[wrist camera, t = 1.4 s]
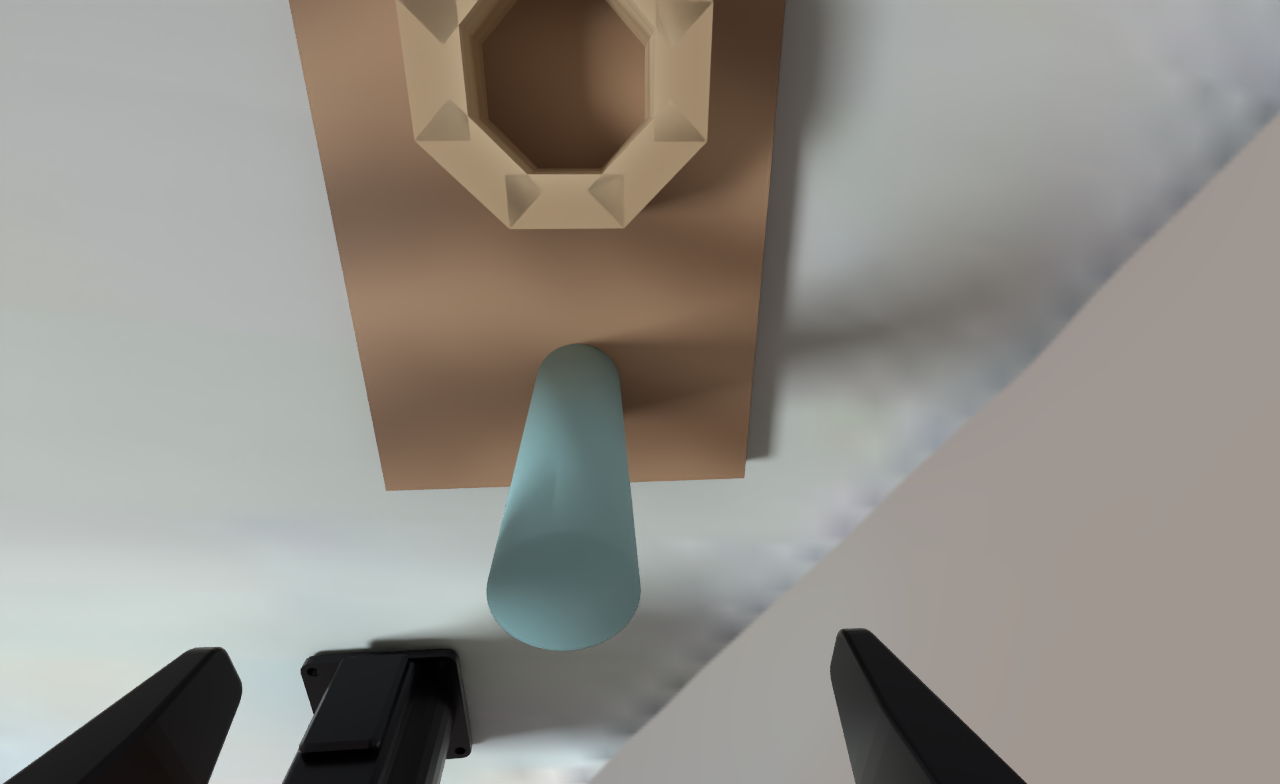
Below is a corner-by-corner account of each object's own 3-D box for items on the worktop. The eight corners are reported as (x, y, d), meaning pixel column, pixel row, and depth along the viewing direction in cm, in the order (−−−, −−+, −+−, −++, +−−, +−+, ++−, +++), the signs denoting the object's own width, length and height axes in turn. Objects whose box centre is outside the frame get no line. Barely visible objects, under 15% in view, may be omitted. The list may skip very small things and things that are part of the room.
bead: (686, 213, 18) (702, 228, 15) (453, 215, 17) (426, 229, 15) (696, -68, 15) (718, -113, 12) (418, -76, 15) (377, -125, 12)
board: (737, 461, 23) (744, 477, 22) (396, 473, 22) (386, 490, 21) (783, -120, 16) (797, -139, 15) (282, -137, 15) (257, -159, 14)
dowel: (620, 418, 21) (640, 647, 11) (539, 421, 20) (494, 654, 11) (619, 343, 19) (641, 528, 10) (533, 344, 19) (478, 534, 10)
